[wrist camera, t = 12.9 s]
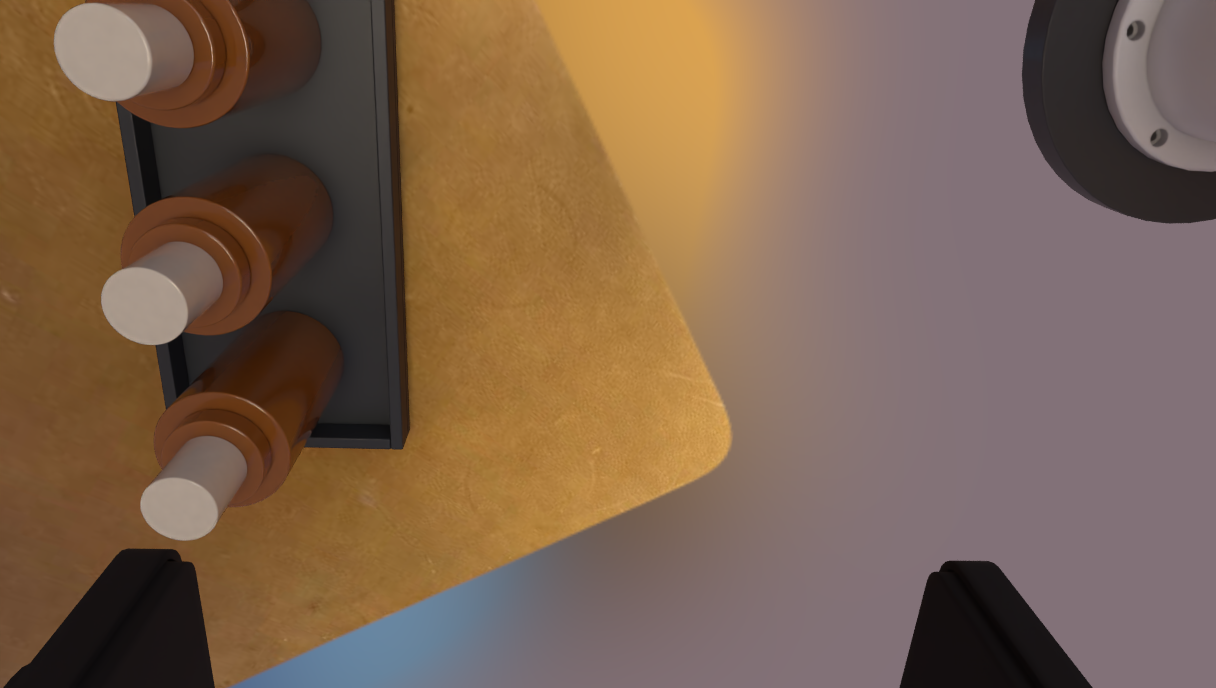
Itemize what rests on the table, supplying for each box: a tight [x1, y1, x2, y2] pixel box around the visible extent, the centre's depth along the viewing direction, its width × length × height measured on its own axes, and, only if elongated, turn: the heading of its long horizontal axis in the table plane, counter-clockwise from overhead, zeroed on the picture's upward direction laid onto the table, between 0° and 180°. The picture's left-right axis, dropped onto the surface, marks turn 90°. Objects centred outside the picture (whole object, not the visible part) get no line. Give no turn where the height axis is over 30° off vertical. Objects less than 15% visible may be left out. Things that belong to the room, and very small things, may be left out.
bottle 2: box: [101, 153, 333, 345], centre depth 32 cm, size 5×5×13 cm
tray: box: [116, 0, 410, 449], centre depth 37 cm, size 11×23×2 cm, turn 176°
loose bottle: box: [141, 311, 344, 541], centre depth 34 cm, size 5×5×13 cm
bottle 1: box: [54, 0, 321, 128], centre depth 29 cm, size 5×5×13 cm
